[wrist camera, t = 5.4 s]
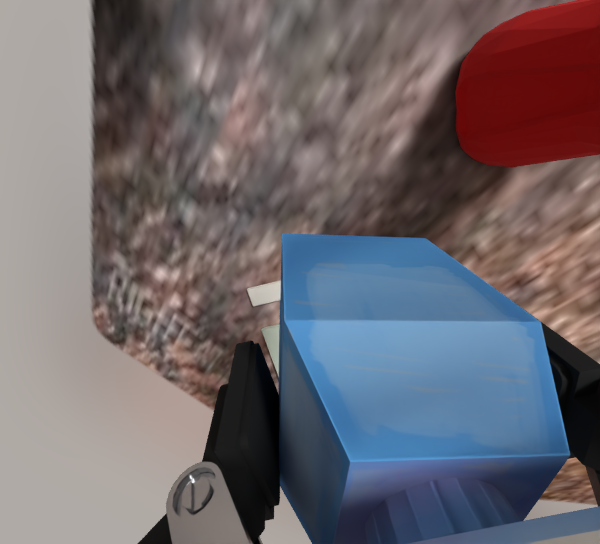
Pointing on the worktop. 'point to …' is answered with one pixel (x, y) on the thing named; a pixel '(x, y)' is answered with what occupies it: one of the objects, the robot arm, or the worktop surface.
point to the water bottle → (533, 88)
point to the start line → (265, 293)
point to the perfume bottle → (407, 394)
